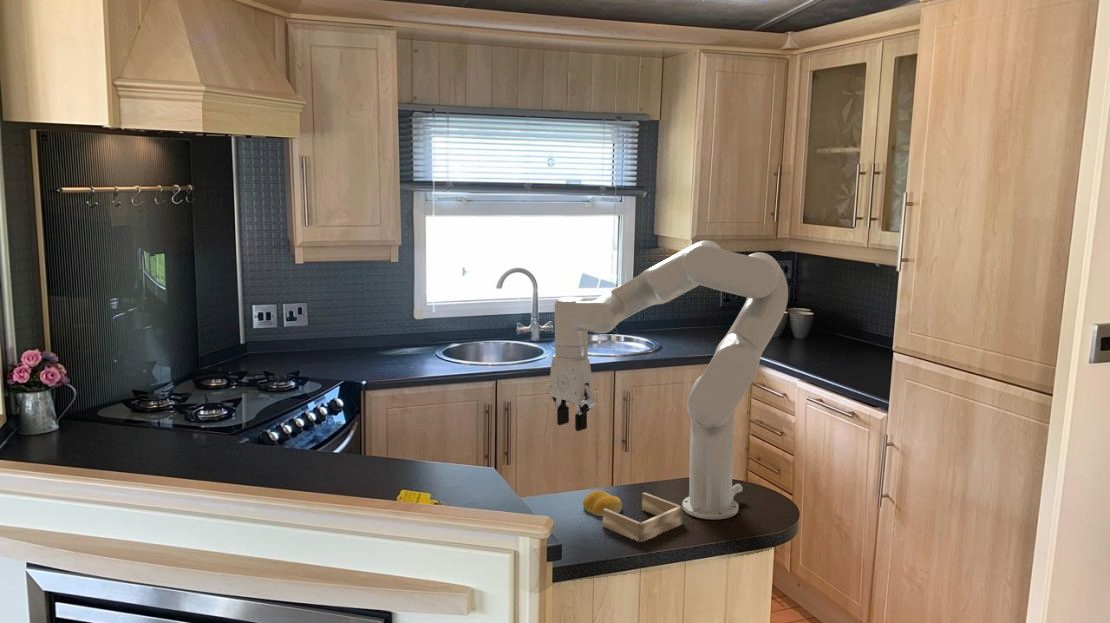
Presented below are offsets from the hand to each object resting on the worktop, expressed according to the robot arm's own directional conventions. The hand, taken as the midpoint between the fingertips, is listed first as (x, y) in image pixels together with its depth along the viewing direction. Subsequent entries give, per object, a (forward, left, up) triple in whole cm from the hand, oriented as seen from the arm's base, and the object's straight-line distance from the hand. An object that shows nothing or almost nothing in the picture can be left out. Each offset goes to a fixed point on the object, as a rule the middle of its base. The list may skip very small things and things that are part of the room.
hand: (572, 425), depth 202 cm
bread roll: (0, +10, -18) cm, 21 cm away
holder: (0, +22, -17) cm, 28 cm away
